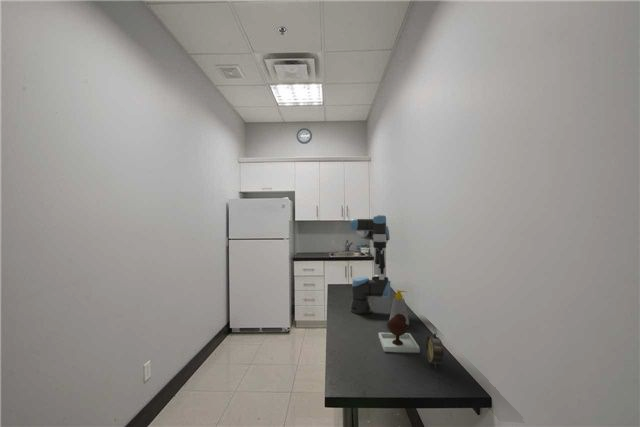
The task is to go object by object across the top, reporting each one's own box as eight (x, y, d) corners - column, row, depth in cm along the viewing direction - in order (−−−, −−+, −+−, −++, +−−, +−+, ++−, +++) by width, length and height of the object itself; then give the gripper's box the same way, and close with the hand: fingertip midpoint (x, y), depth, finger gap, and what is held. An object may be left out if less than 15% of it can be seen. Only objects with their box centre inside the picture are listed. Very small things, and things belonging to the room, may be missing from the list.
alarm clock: (425, 358, 125) (425, 322, 126) (437, 358, 125) (437, 323, 125) (432, 370, 115) (432, 332, 115) (446, 371, 114) (445, 332, 115)
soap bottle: (407, 328, 161) (407, 293, 162) (386, 324, 167) (386, 291, 168) (411, 321, 172) (410, 289, 173) (391, 318, 178) (391, 287, 179)
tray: (378, 337, 148) (378, 332, 148) (409, 337, 147) (409, 333, 147) (384, 351, 131) (384, 346, 131) (419, 352, 130) (419, 347, 130)
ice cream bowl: (393, 336, 148) (393, 309, 148) (412, 343, 140) (412, 314, 140) (382, 342, 140) (382, 313, 141) (402, 350, 132) (402, 319, 133)
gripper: (370, 239, 173) (370, 273, 172) (376, 242, 148) (376, 281, 147) (382, 240, 173) (382, 273, 172) (390, 242, 148) (390, 281, 147)
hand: (379, 277), depth 160 cm, fingers open, 13 cm apart
